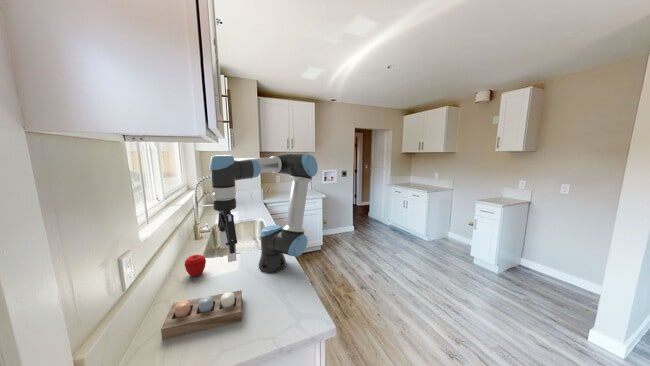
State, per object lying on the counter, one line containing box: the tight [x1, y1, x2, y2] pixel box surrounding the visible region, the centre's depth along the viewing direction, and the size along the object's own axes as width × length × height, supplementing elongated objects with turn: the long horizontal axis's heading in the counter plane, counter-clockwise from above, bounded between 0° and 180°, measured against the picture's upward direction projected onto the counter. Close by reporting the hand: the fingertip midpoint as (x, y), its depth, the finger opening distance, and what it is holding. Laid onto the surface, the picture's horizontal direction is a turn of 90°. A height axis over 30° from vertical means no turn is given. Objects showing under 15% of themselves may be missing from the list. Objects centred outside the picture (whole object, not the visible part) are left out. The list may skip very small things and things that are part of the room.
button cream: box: [221, 291, 235, 309], centre depth 91 cm, size 5×5×5 cm
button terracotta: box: [174, 300, 191, 319], centre depth 86 cm, size 5×5×5 cm
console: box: [160, 289, 243, 340], centre depth 89 cm, size 14×26×4 cm, turn 109°
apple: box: [184, 254, 207, 278], centre depth 117 cm, size 10×10×11 cm
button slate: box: [198, 295, 214, 314], centre depth 88 cm, size 5×5×5 cm
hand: (228, 253), depth 84 cm, fingers open, 13 cm apart
